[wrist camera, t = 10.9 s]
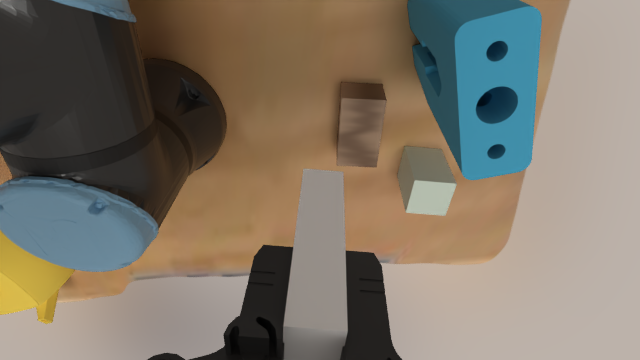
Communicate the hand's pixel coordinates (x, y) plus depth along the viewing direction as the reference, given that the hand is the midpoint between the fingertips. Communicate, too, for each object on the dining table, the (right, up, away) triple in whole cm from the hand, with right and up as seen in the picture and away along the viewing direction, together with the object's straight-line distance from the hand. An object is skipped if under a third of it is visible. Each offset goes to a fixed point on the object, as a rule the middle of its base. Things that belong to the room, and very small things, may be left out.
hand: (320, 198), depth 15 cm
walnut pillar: (+5, +4, +34) cm, 35 cm away
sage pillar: (+14, +3, +37) cm, 40 cm away
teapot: (-49, -11, +50) cm, 71 cm away
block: (+13, +18, +27) cm, 35 cm away
